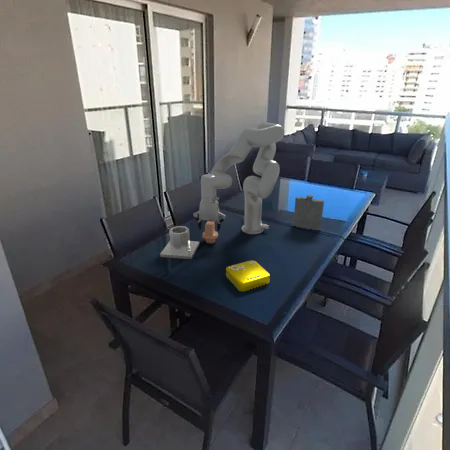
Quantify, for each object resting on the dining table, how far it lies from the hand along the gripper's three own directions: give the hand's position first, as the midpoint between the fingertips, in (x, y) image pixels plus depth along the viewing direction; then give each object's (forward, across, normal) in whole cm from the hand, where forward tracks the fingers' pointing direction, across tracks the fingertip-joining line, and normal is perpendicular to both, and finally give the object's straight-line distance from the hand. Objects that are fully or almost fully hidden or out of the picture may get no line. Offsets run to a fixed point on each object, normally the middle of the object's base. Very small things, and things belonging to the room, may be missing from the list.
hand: (209, 229), depth 169 cm
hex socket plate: (+7, +13, +12) cm, 19 cm away
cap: (+7, 0, 0) cm, 7 cm away
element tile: (+8, -24, +32) cm, 41 cm away
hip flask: (+7, -52, -26) cm, 59 cm away
